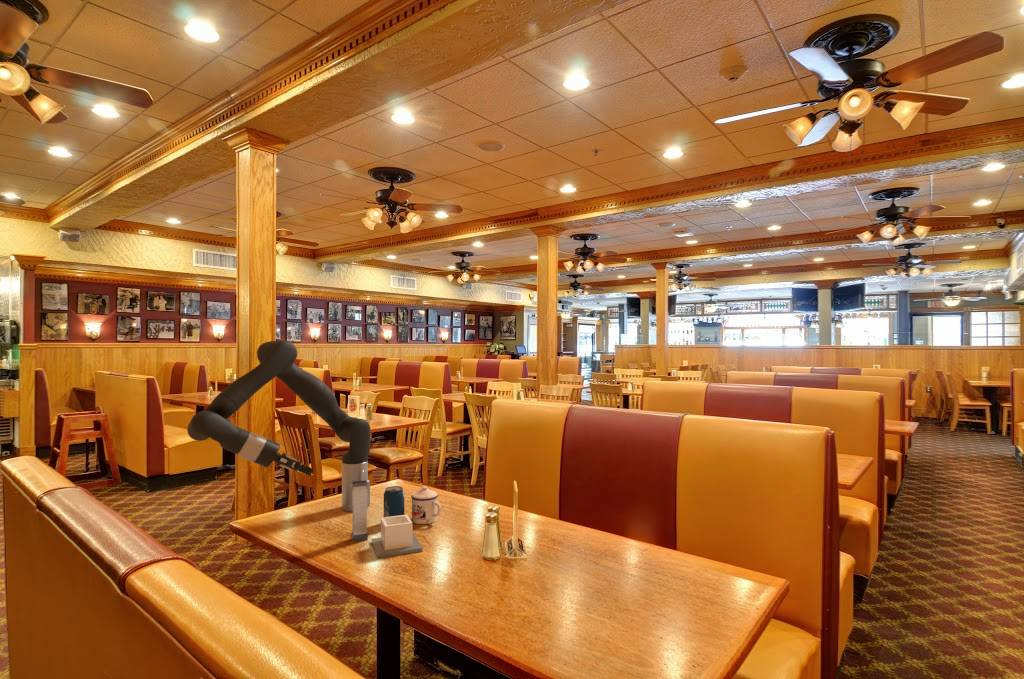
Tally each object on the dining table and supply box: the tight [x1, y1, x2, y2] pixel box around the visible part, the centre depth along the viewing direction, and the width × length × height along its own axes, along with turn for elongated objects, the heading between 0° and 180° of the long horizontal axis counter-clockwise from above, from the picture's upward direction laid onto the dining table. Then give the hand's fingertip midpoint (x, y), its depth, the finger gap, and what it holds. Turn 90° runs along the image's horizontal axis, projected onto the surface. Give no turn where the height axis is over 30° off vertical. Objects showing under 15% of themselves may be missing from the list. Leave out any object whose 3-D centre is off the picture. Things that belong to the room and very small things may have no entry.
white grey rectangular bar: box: [351, 480, 369, 543], centre depth 171 cm, size 3×4×18 cm, turn 112°
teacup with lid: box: [410, 485, 442, 525], centre depth 187 cm, size 12×9×12 cm
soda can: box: [383, 485, 405, 517], centre depth 185 cm, size 7×7×12 cm
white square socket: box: [371, 514, 423, 559], centre depth 165 cm, size 13×13×8 cm
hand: (309, 471), depth 167 cm, fingers open, 8 cm apart
